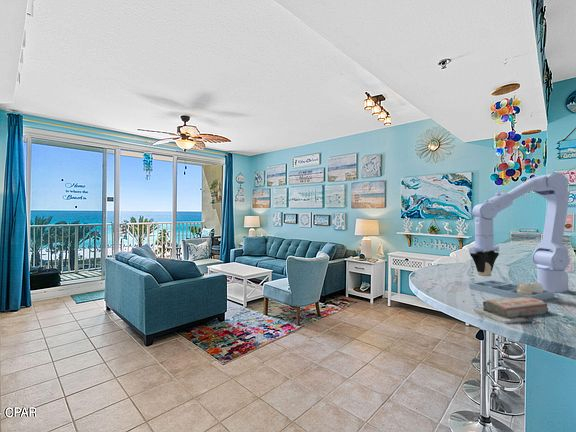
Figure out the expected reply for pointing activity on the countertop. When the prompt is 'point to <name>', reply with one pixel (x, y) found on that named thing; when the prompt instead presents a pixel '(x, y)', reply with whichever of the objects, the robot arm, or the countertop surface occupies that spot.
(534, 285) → the seated egg
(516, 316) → the packaged product
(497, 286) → the egg carton
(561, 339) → the countertop surface
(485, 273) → the loose egg
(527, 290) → the seated egg
